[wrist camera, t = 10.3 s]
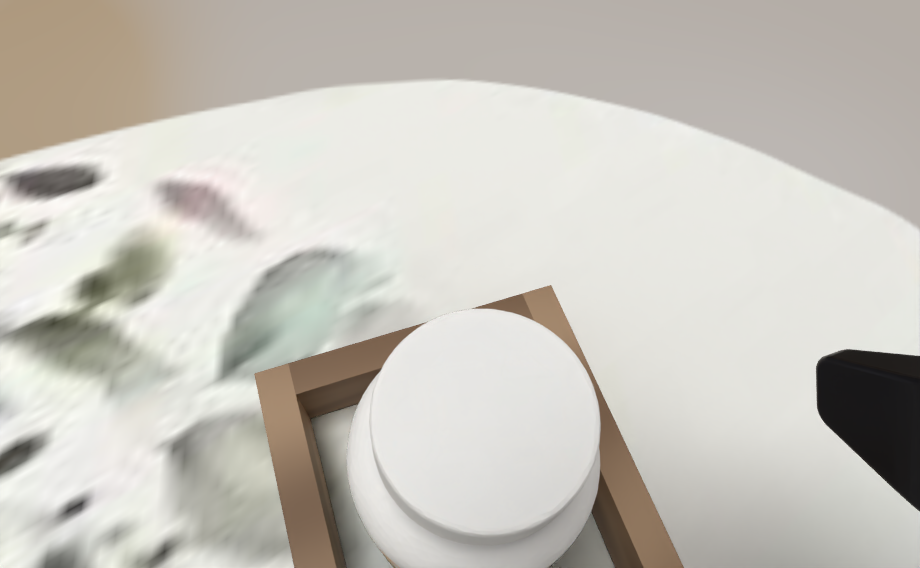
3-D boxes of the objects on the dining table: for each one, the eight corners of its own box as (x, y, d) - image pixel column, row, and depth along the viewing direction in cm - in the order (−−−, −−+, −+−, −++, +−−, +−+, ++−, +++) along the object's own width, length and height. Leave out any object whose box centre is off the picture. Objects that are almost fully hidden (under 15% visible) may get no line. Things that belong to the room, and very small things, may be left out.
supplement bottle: (529, 406, 21) (603, 259, 12) (562, 584, 18) (685, 561, 9) (366, 425, 20) (321, 284, 11) (377, 611, 17) (330, 611, 9)
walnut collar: (664, 598, 18) (697, 597, 16) (345, 733, 16) (332, 752, 14) (538, 317, 22) (550, 284, 20) (273, 399, 20) (254, 373, 18)
